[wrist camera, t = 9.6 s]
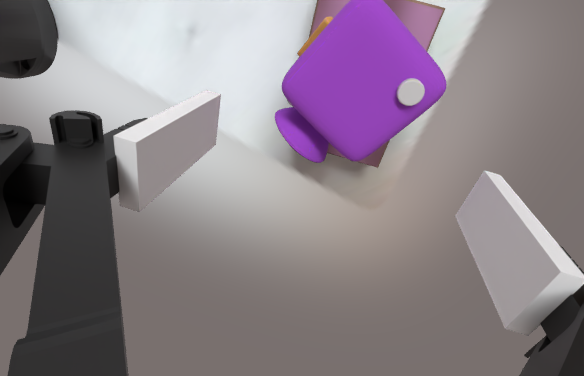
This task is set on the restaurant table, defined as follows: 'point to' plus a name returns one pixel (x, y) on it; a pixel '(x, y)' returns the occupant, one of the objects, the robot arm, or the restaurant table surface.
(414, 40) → the toy camera
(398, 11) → the walnut step
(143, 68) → the restaurant table surface
